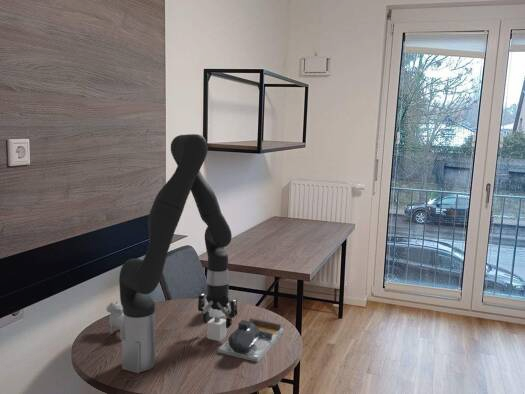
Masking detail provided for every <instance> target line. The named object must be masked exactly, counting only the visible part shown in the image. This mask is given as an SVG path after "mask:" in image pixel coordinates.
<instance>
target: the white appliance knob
mask: <svg viewBox="0 0 525 394" xmlns="http://www.w3.org/2000/svg"><path fill="white" fill-rule="evenodd" d="M208 304H209V303H208V302H207V300H205V307H206V306H207V305H208ZM228 306H229V307H230V304H229V303H228ZM225 309H226V308H225ZM208 312H209V318H214V317H215V316H220V318H224V317H226V316H225V314H224V313H223V312H222V311H221V310H217V309H212V308H210V310H209V311H208ZM223 316H224V317H223Z"/></svg>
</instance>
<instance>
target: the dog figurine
mask: <svg viewBox="0 0 525 394" xmlns="http://www.w3.org/2000/svg"><path fill="white" fill-rule="evenodd" d="M106 311H107V312H108V313H110V315H109V319H108V322H109V328H110V332H109V334H110V335H111V334H112V335H113V334H114V333H115V328H118V330H119V332H120V333H119V340H120V341H122V339H124V314H123V307H122V304H121V301H116V302H115V303H114V302H110V303H109V304H108V305H107V306H106Z"/></svg>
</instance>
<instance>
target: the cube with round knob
mask: <svg viewBox="0 0 525 394" xmlns="http://www.w3.org/2000/svg"><path fill="white" fill-rule="evenodd" d="M206 325H207V329H206V332H207V333H206V339H208V340H212V341H217V342H220V341H222V340H223V339H224V338H225V337H227V329H228V328H226V318H222V317H220V316H215V317H211V319H209V321H208V322H207V324H206Z"/></svg>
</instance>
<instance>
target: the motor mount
mask: <svg viewBox="0 0 525 394" xmlns="http://www.w3.org/2000/svg"><path fill="white" fill-rule="evenodd" d="M237 324H238V328H236V329H235V330H234V331H233V332H232V333H231V334H230V335H229V337H228V339H227V340H226V341H225V342H224V343H223V344H222V345H220V346H219V348H218V354H223V355H227V356H232V357H236V358H240V359H245V360H247V361H252V362H256V363H258V362H259V361H260V360H261V359H262V358H263V357H264V355H266V353H267V352H268V351H269V350H270V349H271V348H272V347H273V346H274V344H275V343H276V342H277V341H278V340H279V339H278V338H280V337H281V336H283V334H284V331H285V330H284V328H282V324H281V323H277V322H273V321H268V320H263V319H258V318H254V317H250V318H249V321H248V320H246V319H245V320H244V319H242V320H241V321H239V322H238V323H237Z"/></svg>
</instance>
